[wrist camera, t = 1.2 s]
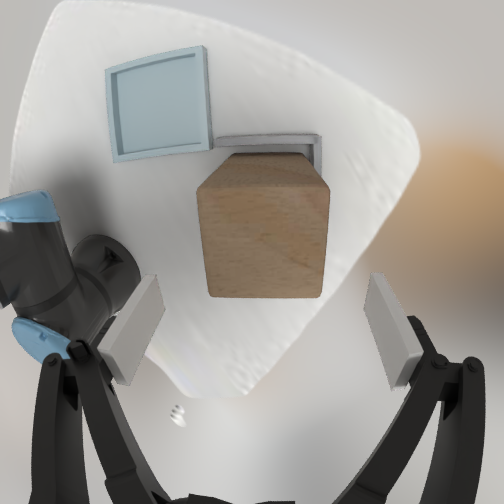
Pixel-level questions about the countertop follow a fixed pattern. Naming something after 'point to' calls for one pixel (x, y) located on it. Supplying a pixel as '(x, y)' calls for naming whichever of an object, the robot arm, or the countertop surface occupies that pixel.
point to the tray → (159, 105)
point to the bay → (279, 139)
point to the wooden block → (264, 227)
